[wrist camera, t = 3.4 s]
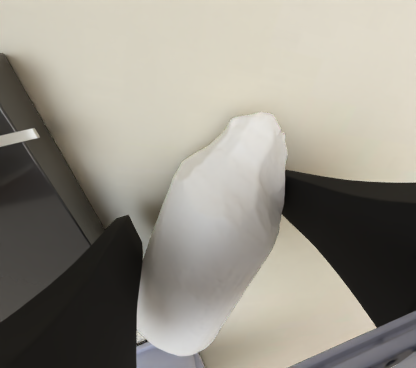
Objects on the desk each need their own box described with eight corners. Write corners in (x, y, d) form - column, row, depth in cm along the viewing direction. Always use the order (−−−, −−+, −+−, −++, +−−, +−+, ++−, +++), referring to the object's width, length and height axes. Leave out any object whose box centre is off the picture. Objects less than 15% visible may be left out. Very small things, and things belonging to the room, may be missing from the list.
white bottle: (282, 130, 12) (375, 152, 7) (210, 273, 15) (236, 358, 10) (193, 88, 10) (232, 74, 5) (133, 266, 13) (118, 368, 8)
